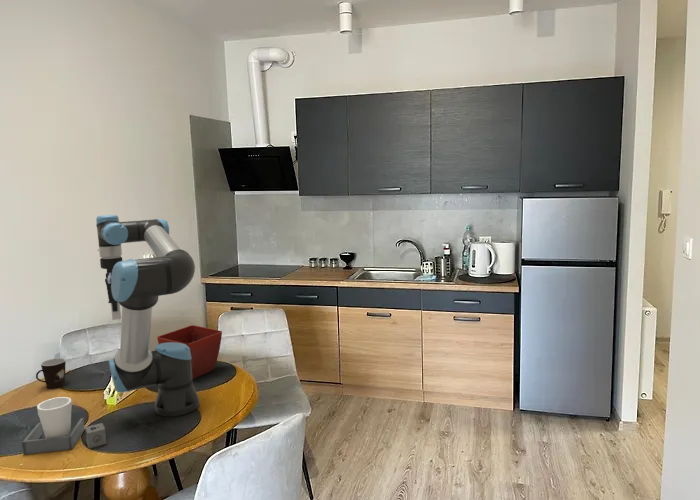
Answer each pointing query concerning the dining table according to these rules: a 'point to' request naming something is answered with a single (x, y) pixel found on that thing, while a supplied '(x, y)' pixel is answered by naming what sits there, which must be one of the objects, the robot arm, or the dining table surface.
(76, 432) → the tray
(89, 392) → the dining table surface
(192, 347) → the plant pot
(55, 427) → the foam cup
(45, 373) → the coffee mug
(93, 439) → the grey cube
